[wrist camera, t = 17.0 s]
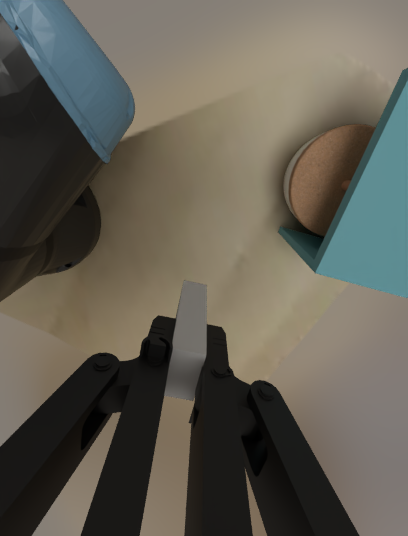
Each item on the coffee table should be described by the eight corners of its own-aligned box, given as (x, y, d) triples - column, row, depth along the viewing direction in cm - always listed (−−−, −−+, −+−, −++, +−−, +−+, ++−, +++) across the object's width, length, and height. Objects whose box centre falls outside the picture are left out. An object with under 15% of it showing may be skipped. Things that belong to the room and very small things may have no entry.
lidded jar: (270, 139, 32) (293, 133, 23) (364, 123, 31) (423, 111, 23) (275, 227, 36) (297, 249, 27) (358, 214, 35) (407, 234, 27)
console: (278, 232, 36) (315, 273, 24) (329, 102, 30) (414, 64, 18) (339, 249, 37) (407, 298, 24) (401, 126, 31) (531, 106, 19)
